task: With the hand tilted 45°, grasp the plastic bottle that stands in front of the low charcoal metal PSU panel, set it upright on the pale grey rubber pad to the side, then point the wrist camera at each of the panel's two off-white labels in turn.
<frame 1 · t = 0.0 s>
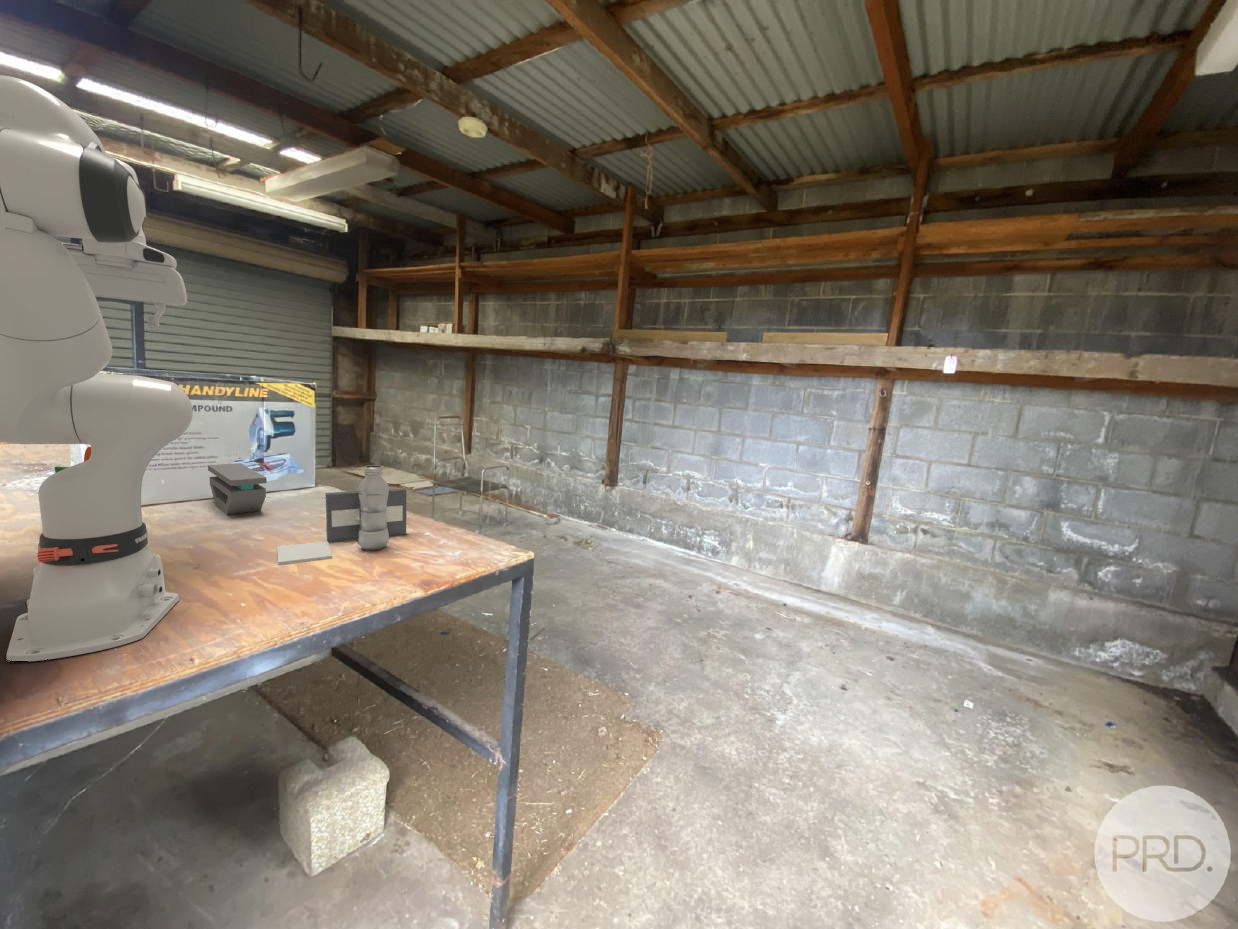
hand: (122, 323, 100), 48 cm above the table, tool pointing down, fingers open, 8 cm apart
psu panel: (367, 537, 127), on the table
motor: (95, 528, 120), on the table
rubber pad: (304, 553, 113), on the table
plastic bottle: (373, 549, 120), on the table
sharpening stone: (238, 509, 144), on the table
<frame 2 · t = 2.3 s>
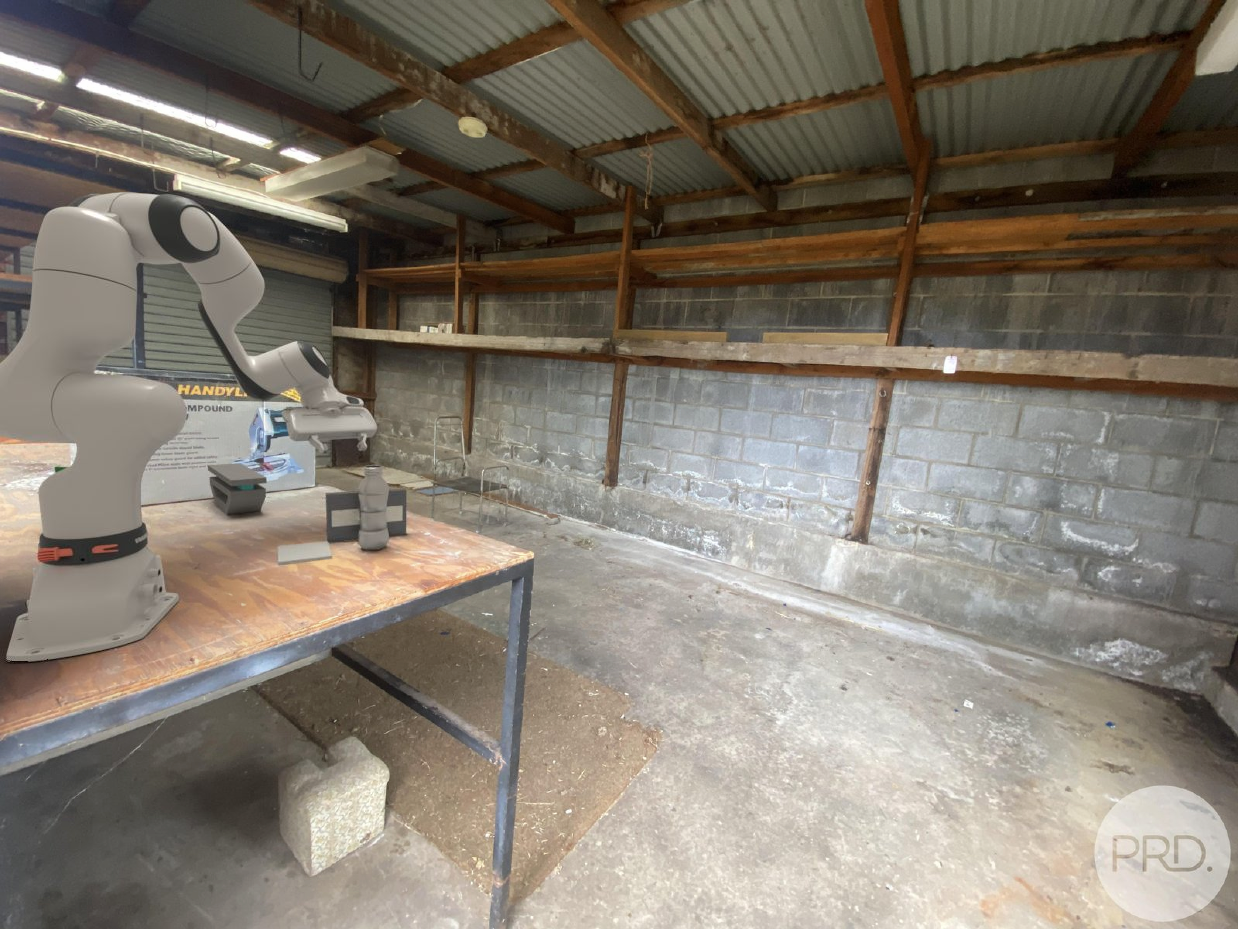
hand: (344, 450, 123), 22 cm above the table, tool tilted 45°, fingers open, 8 cm apart
nothing on the table moved.
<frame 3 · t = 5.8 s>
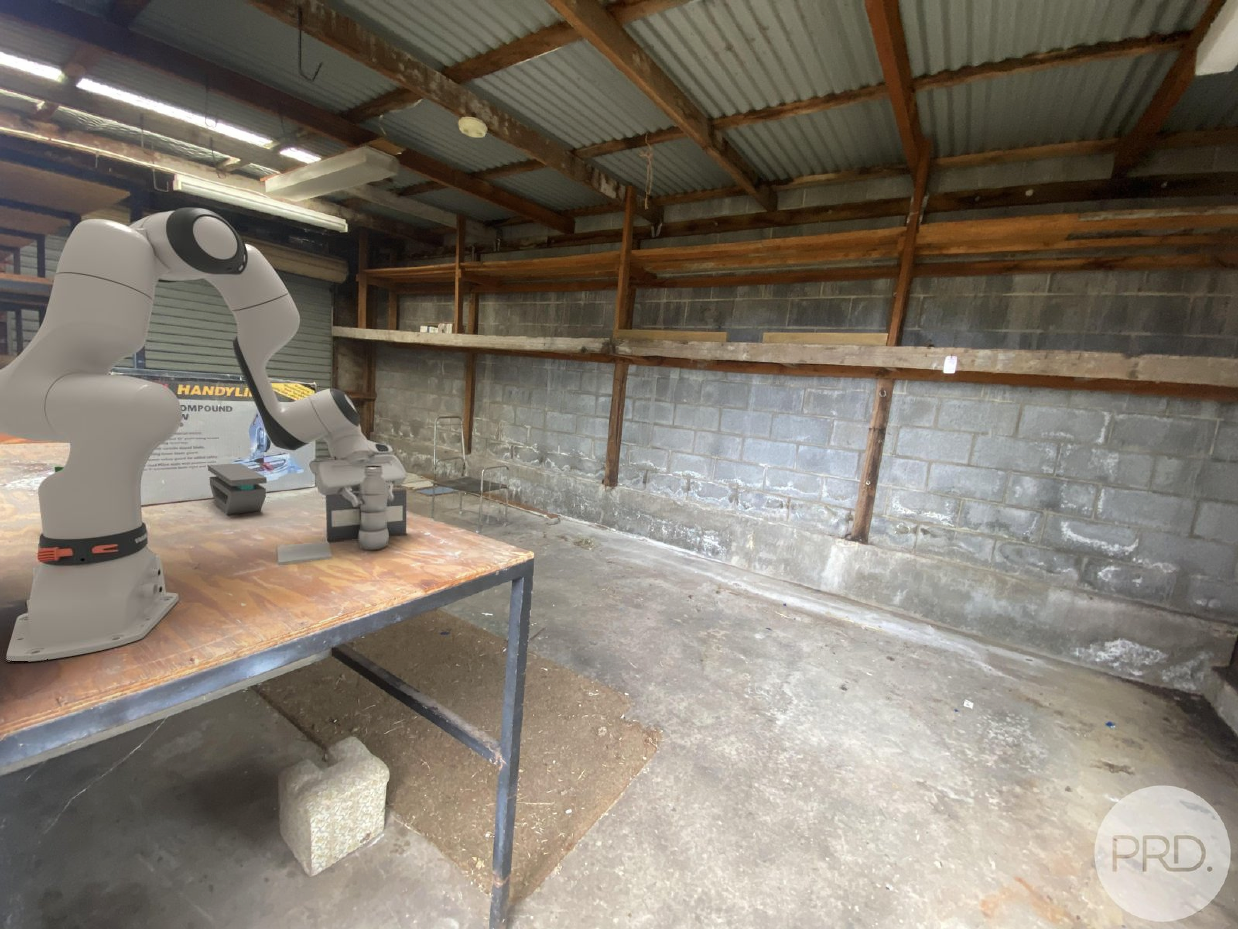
hand: (374, 502, 118), 11 cm above the table, tool tilted 45°, fingers closed on plastic bottle, 6 cm apart
plastic bottle: (373, 549, 120), on the table, touching gripper
everything else where it was.
when the fingers open (13 cm above the table, at t = 13.1 s): plastic bottle moves 3 cm, resting on rubber pad.
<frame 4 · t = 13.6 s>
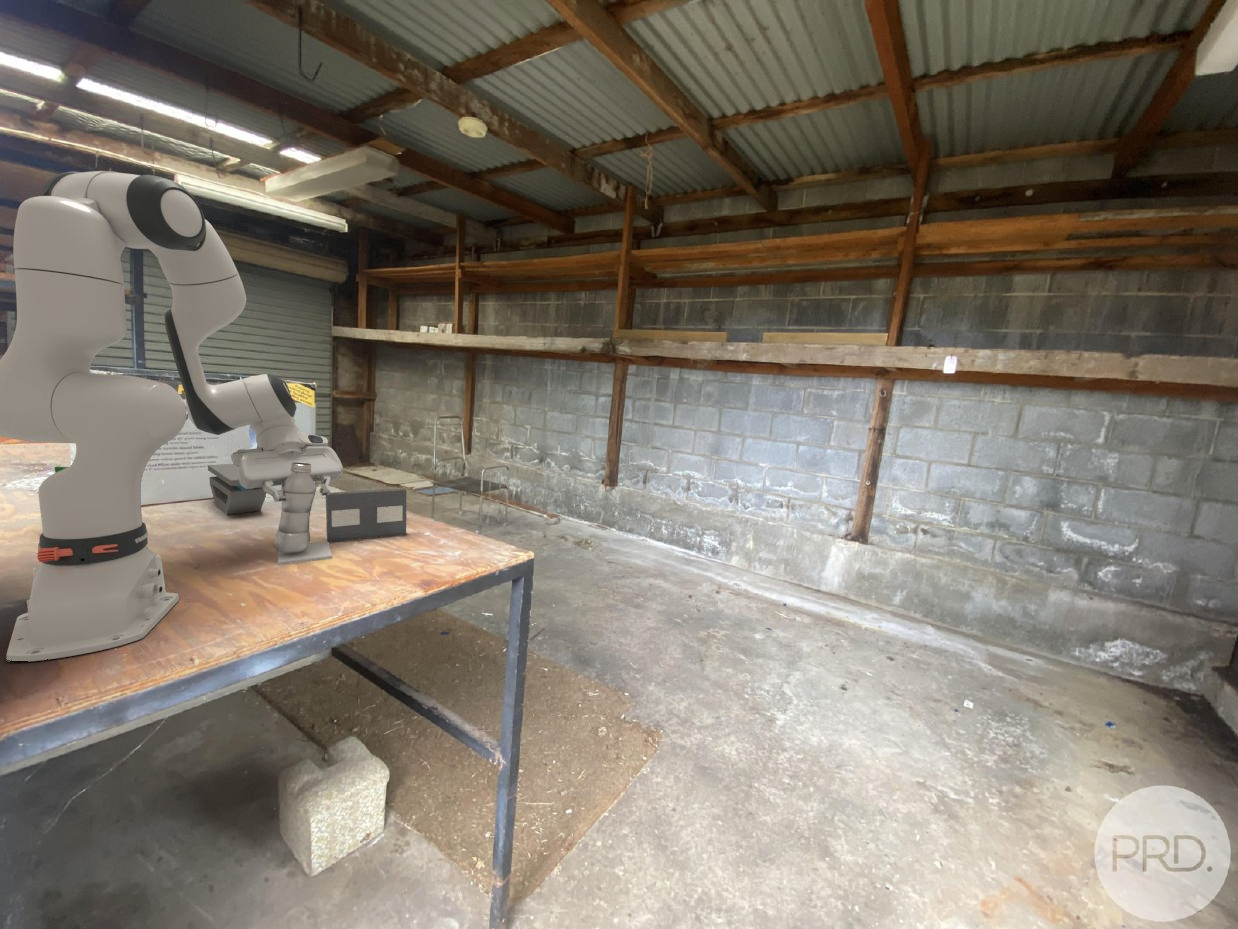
hand: (303, 496, 111), 13 cm above the table, tool tilted 45°, fingers open, 8 cm apart
plastic bottle: (291, 553, 111), point 1 cm above the table, touching gripper, rubber pad
everything else where it was.
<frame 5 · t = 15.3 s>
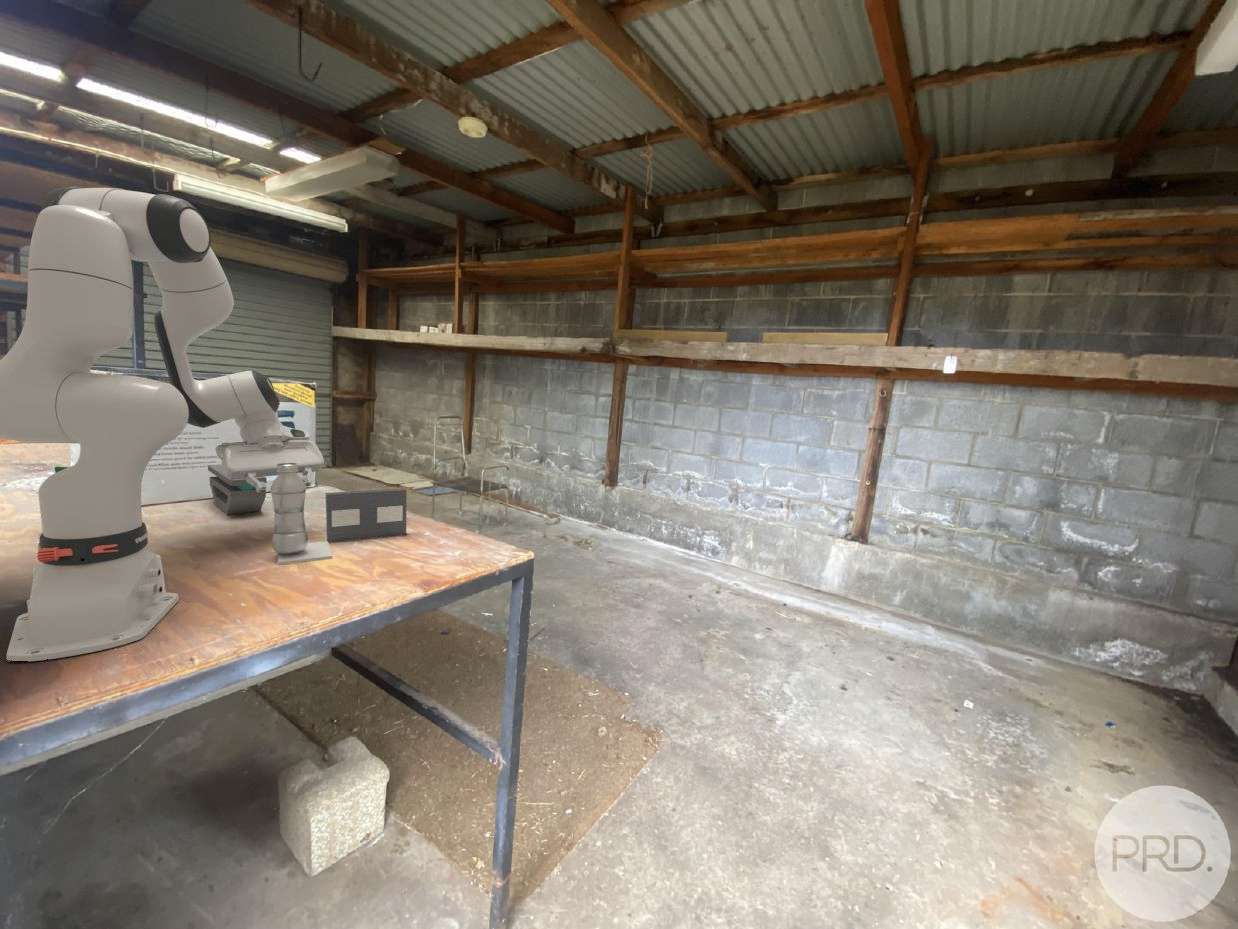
hand: (285, 488, 117), 14 cm above the table, tool tilted 45°, fingers open, 8 cm apart
plastic bottle: (291, 553, 111), point 1 cm above the table, touching rubber pad
everything else where it was.
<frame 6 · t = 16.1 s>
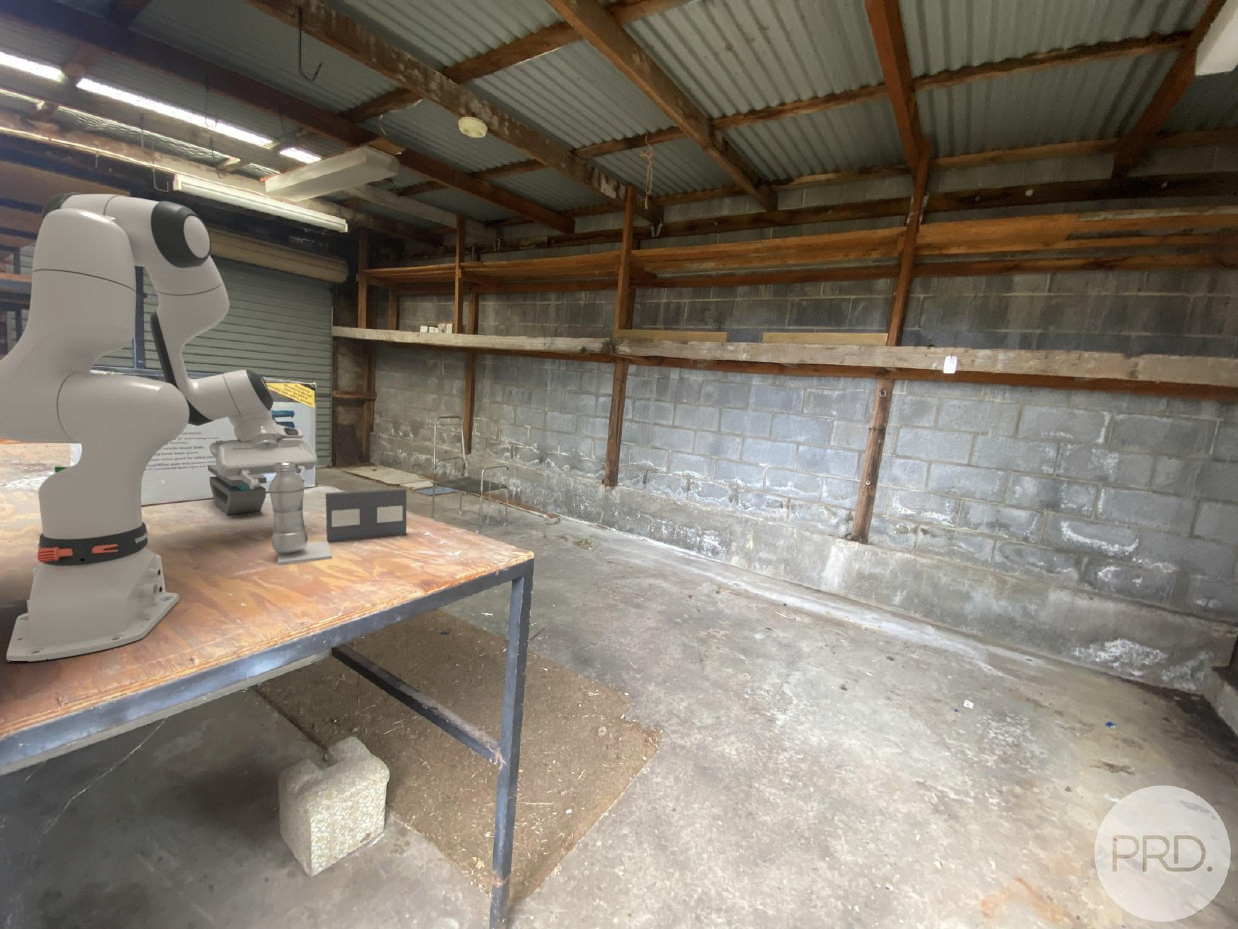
hand: (278, 485, 118), 14 cm above the table, tool tilted 45°, fingers open, 8 cm apart
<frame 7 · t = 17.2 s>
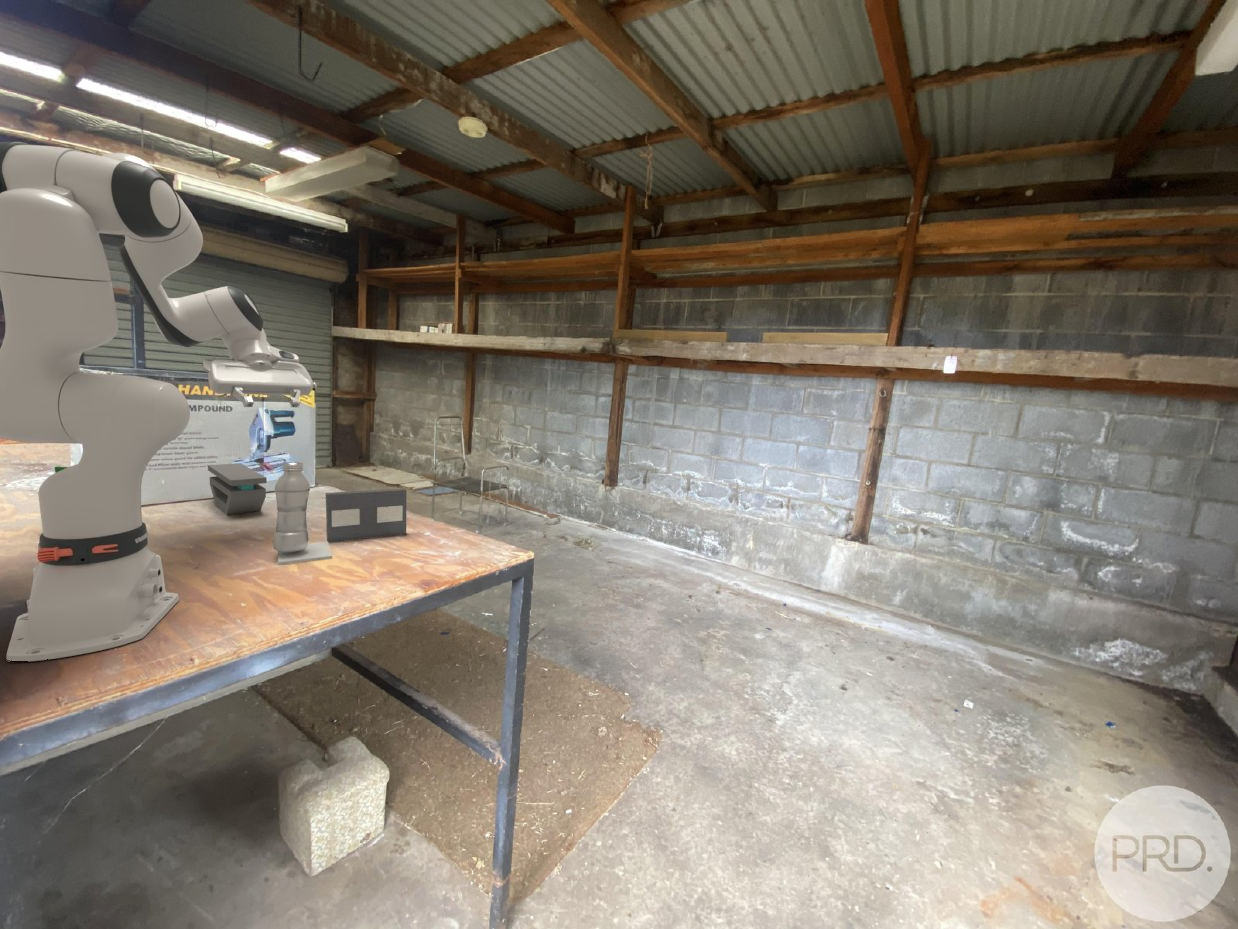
hand: (273, 405, 115), 32 cm above the table, tool tilted 45°, fingers open, 8 cm apart
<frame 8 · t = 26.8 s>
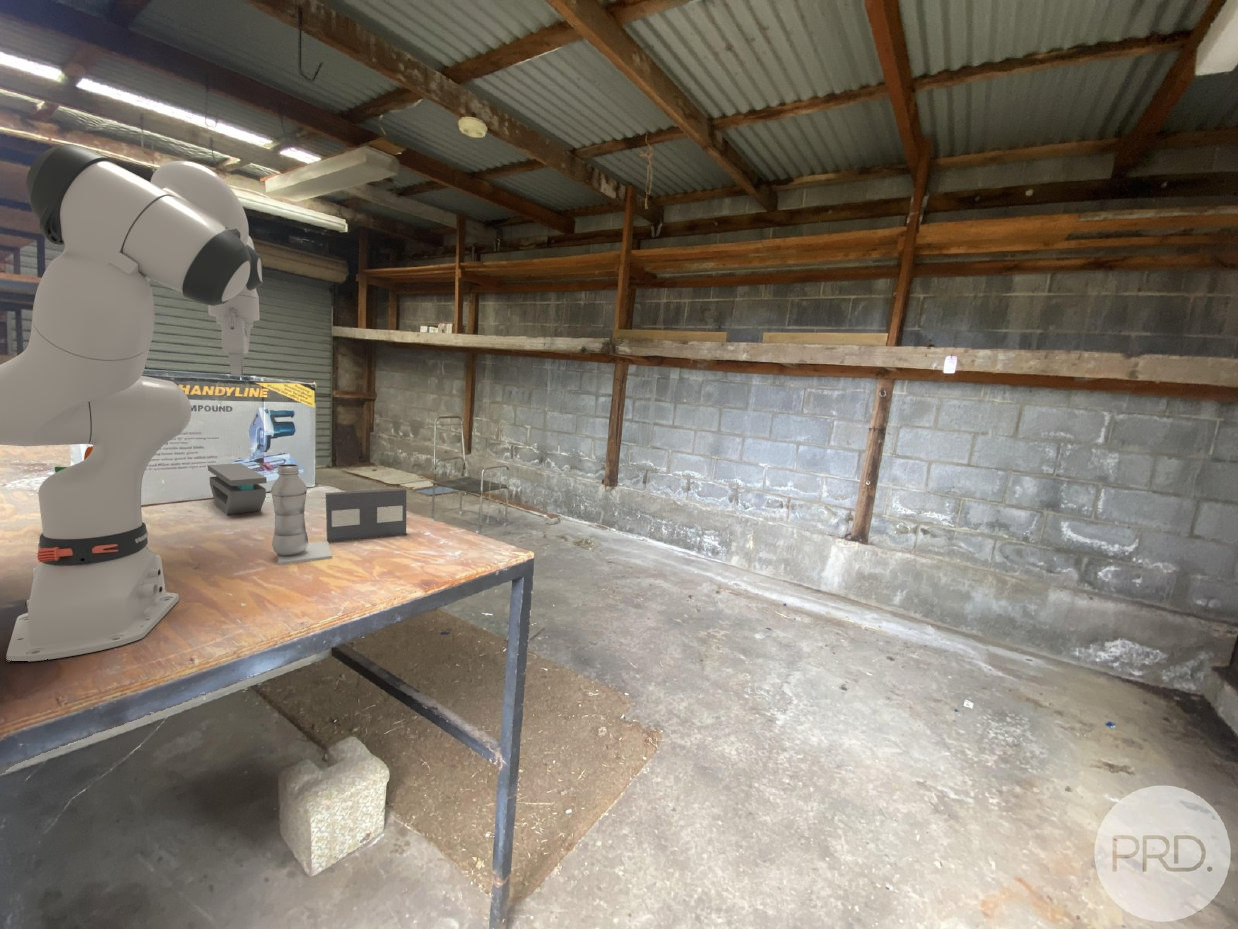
hand: (237, 374, 111), 39 cm above the table, tool pointing down, fingers open, 8 cm apart
at the end: plastic bottle inside the target area (2.7 cm from its centre), resting on rubber pad; plastic bottle tilted 0°; the gripper is holding nothing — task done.
